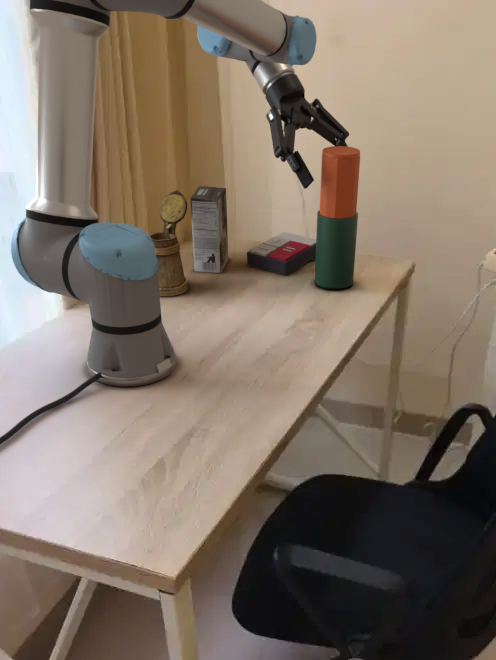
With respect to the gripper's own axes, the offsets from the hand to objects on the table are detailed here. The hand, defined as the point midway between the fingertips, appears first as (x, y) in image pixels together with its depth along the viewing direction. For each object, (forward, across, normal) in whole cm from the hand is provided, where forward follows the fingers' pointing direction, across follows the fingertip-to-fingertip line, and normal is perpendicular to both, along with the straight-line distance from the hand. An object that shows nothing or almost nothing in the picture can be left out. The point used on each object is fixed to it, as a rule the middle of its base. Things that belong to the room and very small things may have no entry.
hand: (332, 178), depth 151 cm
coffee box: (-2, +12, -33) cm, 35 cm away
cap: (+6, 0, -3) cm, 7 cm away
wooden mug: (0, +26, -31) cm, 40 cm away
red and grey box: (+5, -2, -26) cm, 26 cm away
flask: (+16, 0, -14) cm, 22 cm away
